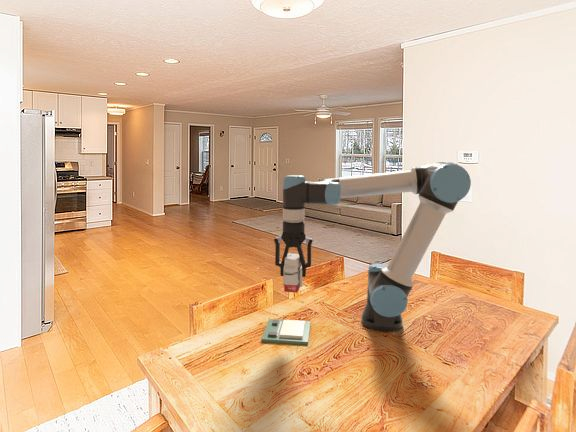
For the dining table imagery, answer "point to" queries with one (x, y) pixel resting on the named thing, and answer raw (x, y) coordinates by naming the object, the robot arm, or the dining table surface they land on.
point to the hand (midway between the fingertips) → (293, 285)
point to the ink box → (292, 273)
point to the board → (287, 331)
